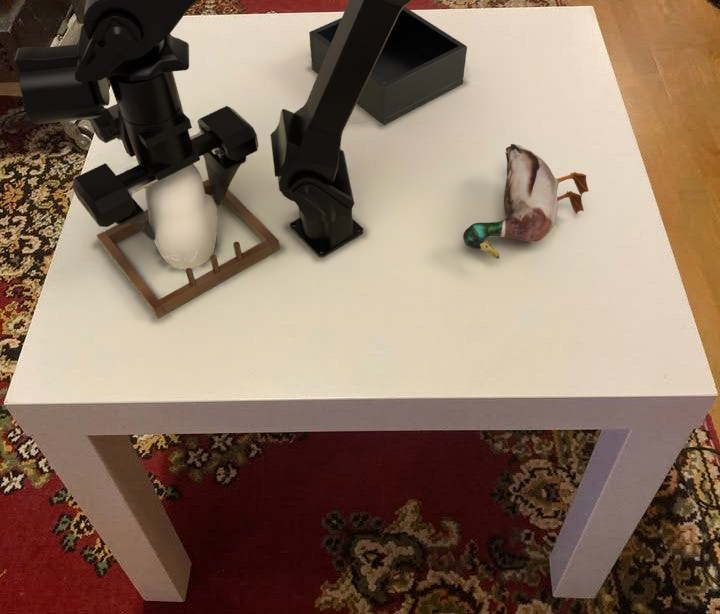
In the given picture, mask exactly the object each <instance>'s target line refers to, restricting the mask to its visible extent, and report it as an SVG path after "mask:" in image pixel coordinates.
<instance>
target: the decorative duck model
mask: <svg viewBox="0 0 720 614" xmlns="http://www.w3.org/2000/svg"><path fill="white" fill-rule="evenodd" d="M504 153H505V158H506V180H505V185H504V192H503V212H504V217H505V218H504V219H503V220H501V221H493V222H491V221H490V222H480V221H479V222H474V223H472V224H471V225H470V226H468V227H467V228H466V229H465V230H464V231H463V234H462V240H463V242H464V244H465V246H468V247H470V248H472V249H477V250H481V251H484V252H486V253H488V254H489V256H491V257H493V258H494V259H495V260H499V259H500V253H499V252H498V250H496V249H495V248H494V247H493V246H492V245H491V244H490V243H489V242H488V238H490V237H491V238H492V237H495V238H496V237H497V238H498V237H499V238H508V239H514V240H518V241H524V242H531V243H536V242H540V241H541V240H543V238H545V237H546V236H547V235H548V234H549V232H550V231H551V230H552V228H553V227H554V224H555V222H556V219H557V216H558V206H559V205H558V202H559V201H561V200H563V199H566V198H568V199H569V201H570V205H571V207H572V210H573V212H574V214H576V215H578V213H579V212H584V211H585V210H584V205H583V200H582V197H583V194H584V193H589V191H590V190H589V187H588V183H587V175H586V174H585V173H582V172H581V173H578V172H576V171H574V172H571V173H569V174H568V175H565V176H561V177H558V178H556V177H555V175H554V174H553V172H552V170H551V168H550V166H549V165H548V164H547V163H546V162H545V160H543V159H542V158H541V157H540V156H538V155H537V154H535V153H534V152H533V151H531V150H529V149H528V148H526V147H524V146H523V145H522V146H521V145H519V144H515V143H510V145H509V146H507V147H505V152H504ZM571 179H572V180H573V182H574V184H575V187H576V188H577V191H578V193H579V194H578V193H576V192H573V191H571V190H570V191H567V192H566V193H564V194H562V195H560V196H558V190H559V184H560V183H562V182H563V181H567V180H571Z"/></svg>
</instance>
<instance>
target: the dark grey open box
mask: <svg viewBox="0 0 720 614" xmlns="http://www.w3.org/2000/svg"><path fill="white" fill-rule="evenodd" d="M341 19H342V17H340V18H337V19H335V20H333V21H331V22H329V23H327V24H324V25H321V26H320V27H317V28H314V29H313V30H311V31H309V32H308V34H309V47H310V60H311V62H310V63H311V69H312V71H314V73H316V74H318V73H319V71H320V69H321V66H322V64H323V61H324V59H325V57H326V54H327V52H328V50H329V47H330V45H331V42H332V40H333V38H334V35H335V33H336V31H337V28H338V26H339V23H340V21H341ZM467 51H468V46H467V45H466V44H464V43H463V42H461V41H460V40H458V39H456V38H454V37H453V36H452V35H450V34H449V33H447V32H445V31H444V30H442V29H440V28H439V27H437V26H436V25H434V24H433V23H431V22H430V21H428V20H426V19H425V18H424V17H422V16H420V15H419V14H417V13H416V12H415V11H412V10H411V9H409V8H408V7H407V6H406V5H405V6H404V8H403V9H402V10H401V12H400V14H399V16H398V18H397V20H396V22H395V24H394V26H393V29H392V31H391V33H390V35H389V37H388V39H387V41H386V43H385V45H384V47H383V49H382V51H381V53H380V56H379V58H378V60H377V62H376V64H375V66H374V68H373V70H372V72H371V74H370V76H369V78H368V80H367V83H366V85H365V87H364V89H363V91H362V93H361V95H360V97H359V99H358V101H357V103H356V105H357V106H359V107H360V108H361V109H362V110H364V111H365V112H366V113H367V114H369V115H370V116H371V117H373V118H374V119H376V121H378V122H379V123H381V125H383V126H386V125H387V124H390V123H391V122H393V121H396V120H397V119H399V118H401V117H402V116H404V115H406V114H408V113H411V112H412V111H414V110H416V109H418V108H419V107H421V106H424V105H425V104H428V103H430V102H431V101H433V100H434V99H438V98H439V97H440V96H443V95H445V94H446V93H448V92H450V91H452V90H454V89H456V88H458V87H459V86H461V85H463V84H464V76H465V68H466V60H467Z"/></svg>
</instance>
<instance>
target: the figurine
mask: <svg viewBox="0 0 720 614" xmlns="http://www.w3.org/2000/svg"><path fill="white" fill-rule="evenodd" d="M203 181H204V180H203V177H202V175H201V173H200V171H199V169H198V167H197V166H196V165H195V163H194V164H192V165H190V166H188V167H186V168H183V169H181V170H179V171H177V172H175V173H173V174H171V175H169V176H167V177H165V178H163V179H161V180H159V181H157V182H155V183H153V184H151V185H149V186H147V187H145V188H144V191H145V192H144V193H145V202H146V206H147V210H148V214H149V223H150V225H151V227H152V229H153V231H154V234H155V240H153V242H154V244H155V247H156V249H157V250H158V252H159V254H160V256H161V257H162V259H163V260H164V261H165V262H166V263H167V264H168V265H169V266H171V267H172V268H175V269H179V270H186V269H187V268H191V269H194V268H197V267H201V266H202V265H204V264H205V263H207V262H208V260H209V261H210V256H211V255H214V253H215V252H214V251H215V248H216V242H217V241H216V240H217V235H218V228H219V216H218V209H217V204H216V203H215V201H214V199H213V197H212V195H208V194H205V191H204V185H203Z"/></svg>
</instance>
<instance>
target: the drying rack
mask: <svg viewBox="0 0 720 614" xmlns="http://www.w3.org/2000/svg"><path fill="white" fill-rule="evenodd" d="M203 185H204V191H205V194H208V195H210V196H212V194H211V191H210V186H209V180H208V178H207V179H205V180H203ZM222 203H223V204H225V205H226V206H227V207H228V208H229V209H230V210H231V211H232V212H233V214H235V216H236V217H238V218H239V220H240V221H241V222H242V223H243V224H244V225H245V226H246V227H247V228H248V229H249V230H250V231H251V232H252V233H253V234H254V236H256V237H257V239H259V241H261V242H260V243H258V244H256V245H254V246H252V247H250V248H249V249H247V250H245V251H243V252H242V248H241V244H240V242H239V241H234V242H233V243H232V246H233V249H234V254H235V257H233V258H230V259H229V260H227V261H225V262H223V263H222V264H220V265H219V262H218V258H217V255H216V254H212V255H211V256H210V259H209V261H210V265H211V268H212V269H211V270H209V271H207V272H206V273H204V274H201V276H198V277H197V278H195V275H194V271H193V268H187V269H184V270H185V274H186V277H187V280H188V283H185V285H183V286H181V287H179V288H177V289H176V290H174V291H172V292H170V293H168V294H167V295H165V296H163V297H161V298H159V299H158V297H157V296H156V295H155V294H154V292H153V291H152V289H151V288H150V287H149V286H148V285H147V284H146V282H145V281H144V280H143V278H142V277H141V276H140V274H139V273H138V272H137V271H136V269H135V268H134V267H133V266H132V264H131V262H129V260H128V259H127V258H126V257H125V256H124V254H123V253H122V252H121V250H120V249H119V248H118V247H117V245H116V244H117V243H119V242H121V241H122V240H125V239H127V238H129V237H130V236H132V235H134V234H136V233H139V232H140V231H141V230H140V229H139V228H137V227H135V226H133V225H131V224H129V223H125V224H123V225H117V224H116V225H114V226H112V227H110V228H108V229H106V230H104V231H101V232H99V233H98V234H96V237H97V240H98V242H99V245H100V246H101V247H102V249H103V250H104V251H105V252H106V253H107V255H108V256H109V258H110V259H111V260H112V261H113V263H115V265H116V266H117V267H118V269H119V270H120V271H121V273H122V275H123V276H124V277H125V278H126V279H127V281H128V282H129V283H130V284H131V286H132V287H133V289H134V290H135V291H136V292H137V293H138V295H139V296H140V297H141V299H142V300H143V301H144V303H145V304H146V305H147V306H148V308H149V309H150V310H151V312H152V313H153V314H154V316H155V317H156V318H157V319H161V318H162V317H164V316H166V314H169V313H171V312H172V311H174V310H176V309H177V308H179V307H181V306H183V305H185V304H186V303H188V302H190V301H192V300H193V299H195V298H197V297H199V296H200V295H202V294H204V293H206V292H207V291H209V290H212V289H213V288H214V287H216V286H218V285H219V284H222V283H223V282H225V281H226V280H228V279H230V278H232V277H234V276H235V275H237V274H239V273H241V272H242V271H244V270H246V269H248V268H249V267H252V266H254V265H255V264H256V263H258V262H260V261H262V260H264V259H265V258H268V257H269V256H270V255H272V254H274V253H276V252H278V251H280V249H281V248H280V241H279V239H278V238H277V237H276V236H275V235H274V234H273V233H272V232H271V231H270V229H268V228H267V227H266V226H265V225H264V224H263V223H262V222H261V220H260V219H259V218H258V217H256V215H254V214H253V213H252V211H250V210H249V208H248V207H246V206H245V205H244V204H243V202H242V201H241V200H239V198H238V197H237V196H236V195H234V193H233V192H232V191H230V189H228V190H227V192H226V195H225V197H224V199H223V202H222ZM143 211H144V212H145V214H146V217H147V219H148V221H149V214H148V209H146V210H143Z"/></svg>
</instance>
